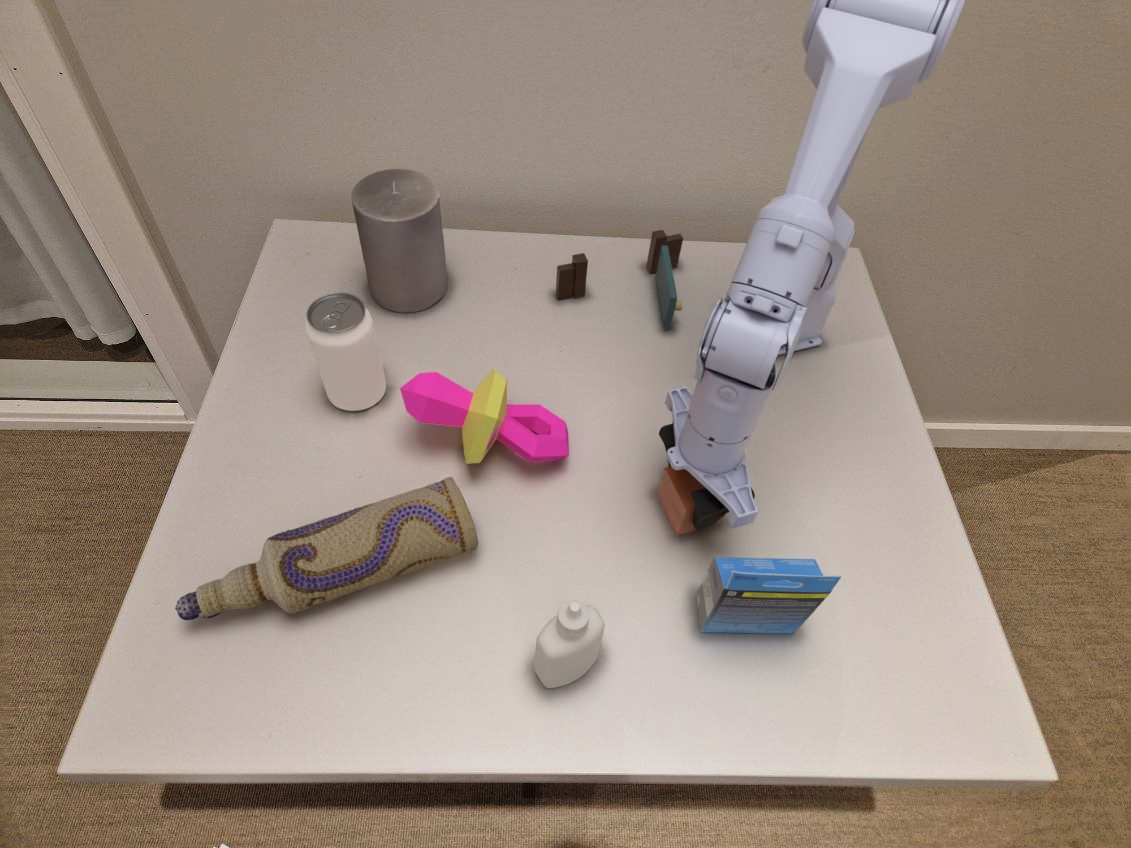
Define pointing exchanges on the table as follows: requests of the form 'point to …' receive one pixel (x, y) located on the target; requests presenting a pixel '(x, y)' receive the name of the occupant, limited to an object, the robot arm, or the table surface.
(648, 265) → the gate
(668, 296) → the gate door
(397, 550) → the decorative bottle
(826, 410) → the table surface
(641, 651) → the table surface
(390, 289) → the pillar candle
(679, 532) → the block
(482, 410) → the toy
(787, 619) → the label tape box
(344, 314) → the can
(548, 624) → the eye dropper bottle
